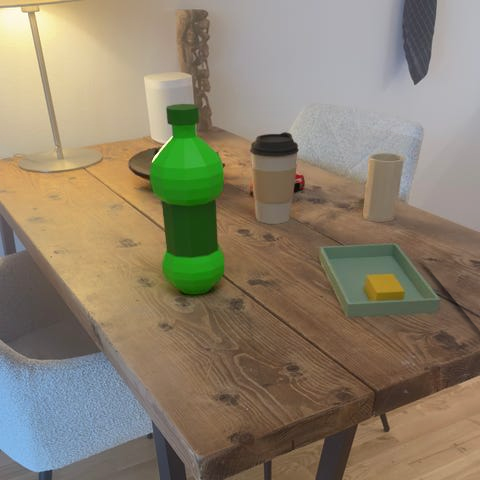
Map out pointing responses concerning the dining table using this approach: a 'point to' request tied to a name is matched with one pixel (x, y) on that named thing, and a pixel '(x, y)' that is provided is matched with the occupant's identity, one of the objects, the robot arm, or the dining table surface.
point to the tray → (373, 263)
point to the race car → (298, 184)
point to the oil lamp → (144, 162)
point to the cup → (382, 187)
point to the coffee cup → (273, 176)
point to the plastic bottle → (189, 203)
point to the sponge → (383, 288)
